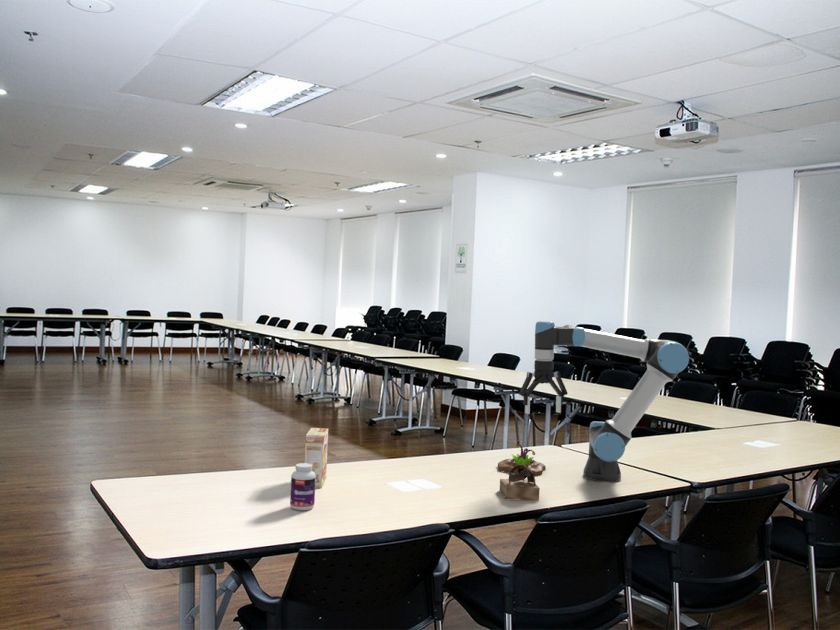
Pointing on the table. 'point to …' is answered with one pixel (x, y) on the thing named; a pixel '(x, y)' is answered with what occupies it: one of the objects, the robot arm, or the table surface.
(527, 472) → the dark brown figurine
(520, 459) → the plant
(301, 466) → the pill bottle
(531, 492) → the walnut block
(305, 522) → the table surface
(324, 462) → the coffeecake box
